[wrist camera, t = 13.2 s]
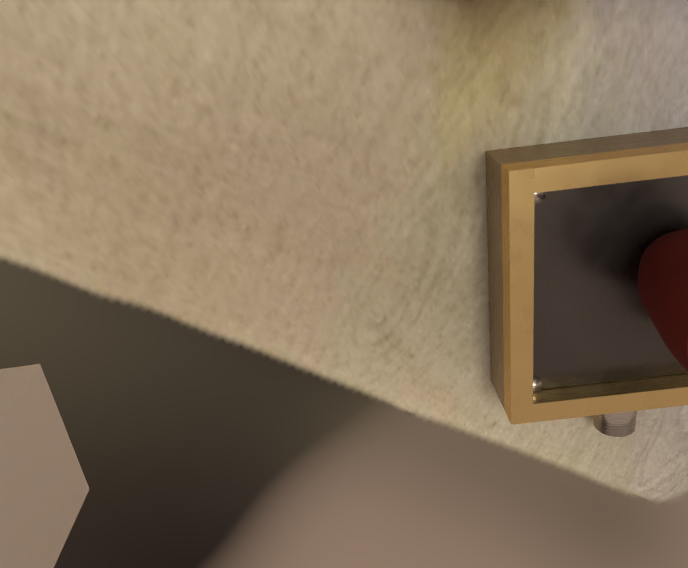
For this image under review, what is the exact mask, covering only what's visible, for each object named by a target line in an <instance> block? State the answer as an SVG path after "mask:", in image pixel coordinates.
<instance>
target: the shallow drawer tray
mask: <svg viewBox="0 0 688 568" xmlns="http://www.w3.org/2000/svg"><path fill="white" fill-rule="evenodd" d="M486 185H487V228H488V270H489V313H490V355H491V381H492V383H493V385H494V388H495V390H496V392H497V394H498V396H499V399H500V401H501V403H502V405H503V407H504V410H505V412H506V414H507V416H508V418H509V421H510V423H511V424H520V423H529V422H538V421H547V420H557V419H566V418H575V417H584V416H593V415H594V418H593V424H594V426H595V428H596V429H597V430H598V431H600V432H601V433H603V434H606V435H609V436H614V437H623V436H628V435H630V434H632V433H633V432H634V431H635V425H636V414H637V411H638V410H647V409H656V408H665V407H674V406H683V405H688V371H687V370H686V369H685V368H684V367H683V366H682V365H681V364H680V363H679V362H678V361H677V360H676V358H675V357H674V356H673V355H672V354H671V352H670V351H669V349H668V348H667V346H666V345H665V343H664V341H663V340H662V338H661V336H660V334H659V333H658V331H657V329H656V327H655V326H654V324H653V322H652V320H651V319H650V317H649V315H648V313H647V312H646V310H645V308H644V306H643V304H642V302H641V299H640V296H639V291H638V270H639V264H640V259H641V257H642V254H643V253H644V251H645V249H646V248H647V247H648V246H649V245H650V243H652V242H653V241H654V240H655V239H657V238H658V237H660V236H662V235H664V234H667V233H670V232H674V231H677V230H681V229H686V228H688V127H685V128H677V129H668V130H660V131H651V132H643V133H635V134H626V135H618V136H609V137H601V138H593V139H584V140H576V141H567V142H559V143H551V144H542V145H534V146H525V147H517V148H509V149H500V150H492V151H486Z"/></svg>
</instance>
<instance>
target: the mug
mask: <svg viewBox="0 0 688 568" xmlns="http://www.w3.org/2000/svg"><path fill="white" fill-rule="evenodd" d="M638 291H639V296H640V299H641V302H642V304H643V306H644V308H645V310H646V312H647V313H648V315H649V317H650V319H651V320H652V322H653V324H654V326H655V327H656V329H657V331H658V333H659V334H660V336H661V338H662V340H663V341H664V343H665V345H666V346H667V348H668V349H669V351H670V352H671V354H672V355H673V356H674V357H675V358H676V360H677V361H678V362H679V363H680V364H681V365H682V366H683V367H684V368H685V369H686V370H687V371H688V228H686V229H681V230H677V231H674V232H670V233H667V234H664V235H662V236H660V237H658V238H657V239H655V240H654V241H653V242H652V243H650V245H649V246H648V247H647V248H646V249H645V251H644V253H643V254H642V257H641V259H640V264H639V270H638Z"/></svg>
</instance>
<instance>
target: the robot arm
mask: <svg viewBox="0 0 688 568" xmlns="http://www.w3.org/2000/svg"><path fill="white" fill-rule="evenodd" d="M88 491H89V487H88V484H87V482H86V479H85V477H84V475H83V472H82V469H81V467H80V464H79V462H78V459H77V457H76V454H75V452H74V449H73V446H72V444H71V441H70V439H69V436H68V434H67V431H66V429H65V426H64V424H63V421H62V419H61V416H60V414H59V411H58V408H57V406H56V403H55V401H54V398H53V396H52V393H51V391H50V388H49V386H48V383H47V381H46V378H45V376H44V373H43V370H42V368H41V365H40V364H35V365H28V366H21V367H13V368H6V369H0V568H54V565H55V563H56V561H57V559H58V557H59V554H60V552H61V550H62V548H63V546H64V544H65V541H66V539H67V537H68V535H69V532H70V530H71V528H72V526H73V524H74V522H75V519H76V517H77V515H78V513H79V511H80V508H81V506H82V504H83V502H84V500H85V497H86V495H87V493H88Z"/></svg>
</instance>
